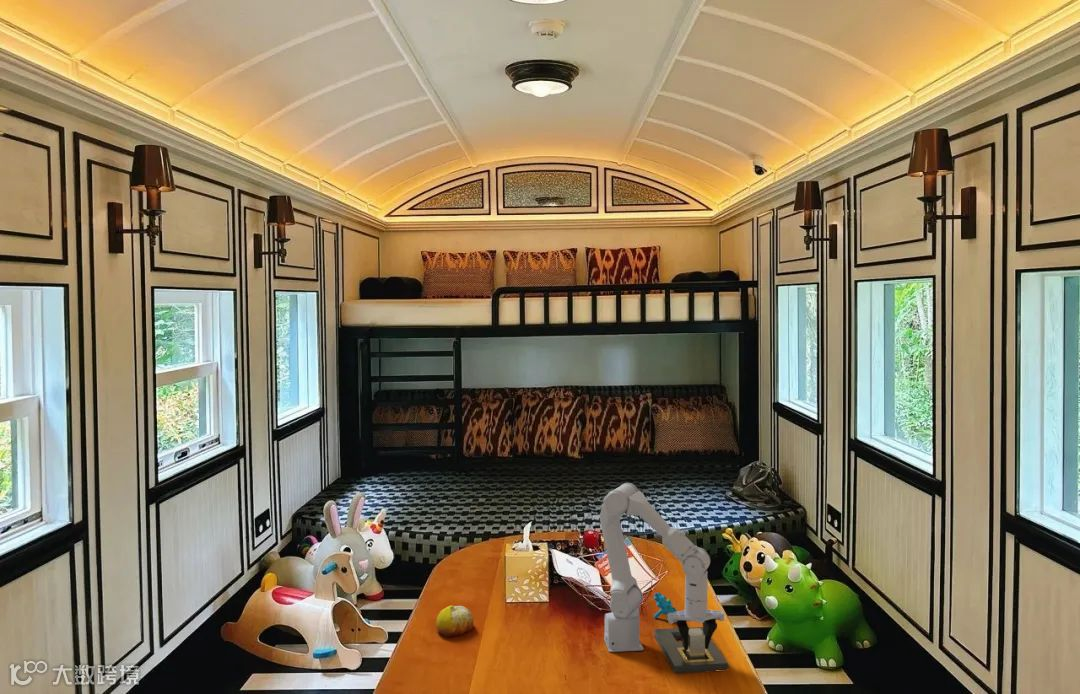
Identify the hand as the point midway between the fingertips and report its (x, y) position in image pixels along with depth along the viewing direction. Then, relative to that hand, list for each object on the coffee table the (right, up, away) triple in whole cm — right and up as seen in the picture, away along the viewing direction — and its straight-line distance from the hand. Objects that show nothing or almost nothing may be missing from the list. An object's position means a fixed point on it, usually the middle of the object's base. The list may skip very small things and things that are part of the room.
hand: (695, 647), depth 183 cm
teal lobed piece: (-3, -3, +25) cm, 26 cm away
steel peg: (0, -4, 0) cm, 4 cm away
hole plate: (-1, -4, +5) cm, 6 cm away
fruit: (-65, -3, +19) cm, 68 cm away
